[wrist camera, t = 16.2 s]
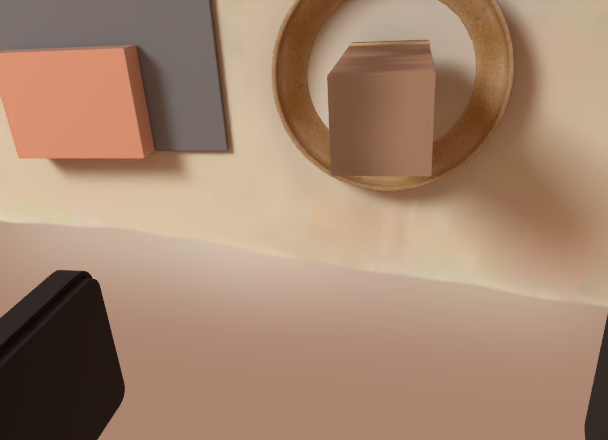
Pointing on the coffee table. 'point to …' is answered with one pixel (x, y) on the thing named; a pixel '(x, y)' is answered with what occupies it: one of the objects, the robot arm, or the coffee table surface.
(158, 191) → the coffee table surface
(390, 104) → the block
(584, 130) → the coffee table surface
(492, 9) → the plant saucer
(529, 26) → the coffee table surface
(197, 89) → the mat
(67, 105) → the tile
